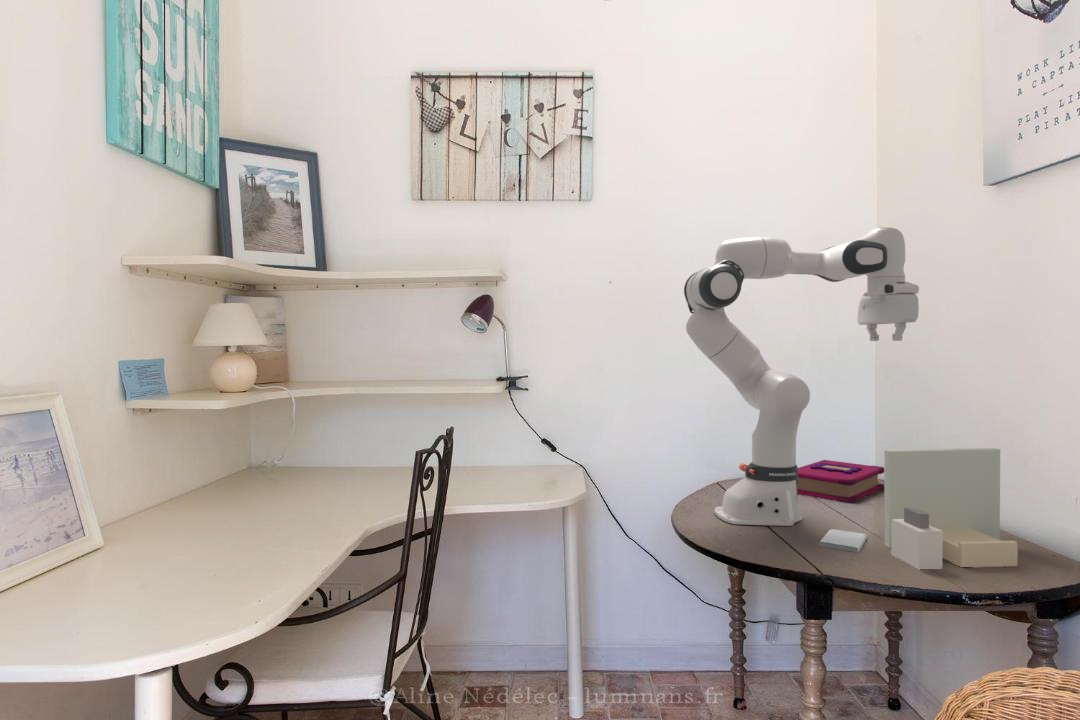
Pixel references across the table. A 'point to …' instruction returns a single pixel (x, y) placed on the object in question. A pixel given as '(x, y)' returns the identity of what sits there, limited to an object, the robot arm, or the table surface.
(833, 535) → the hard drive
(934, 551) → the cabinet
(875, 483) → the book
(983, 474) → the board
